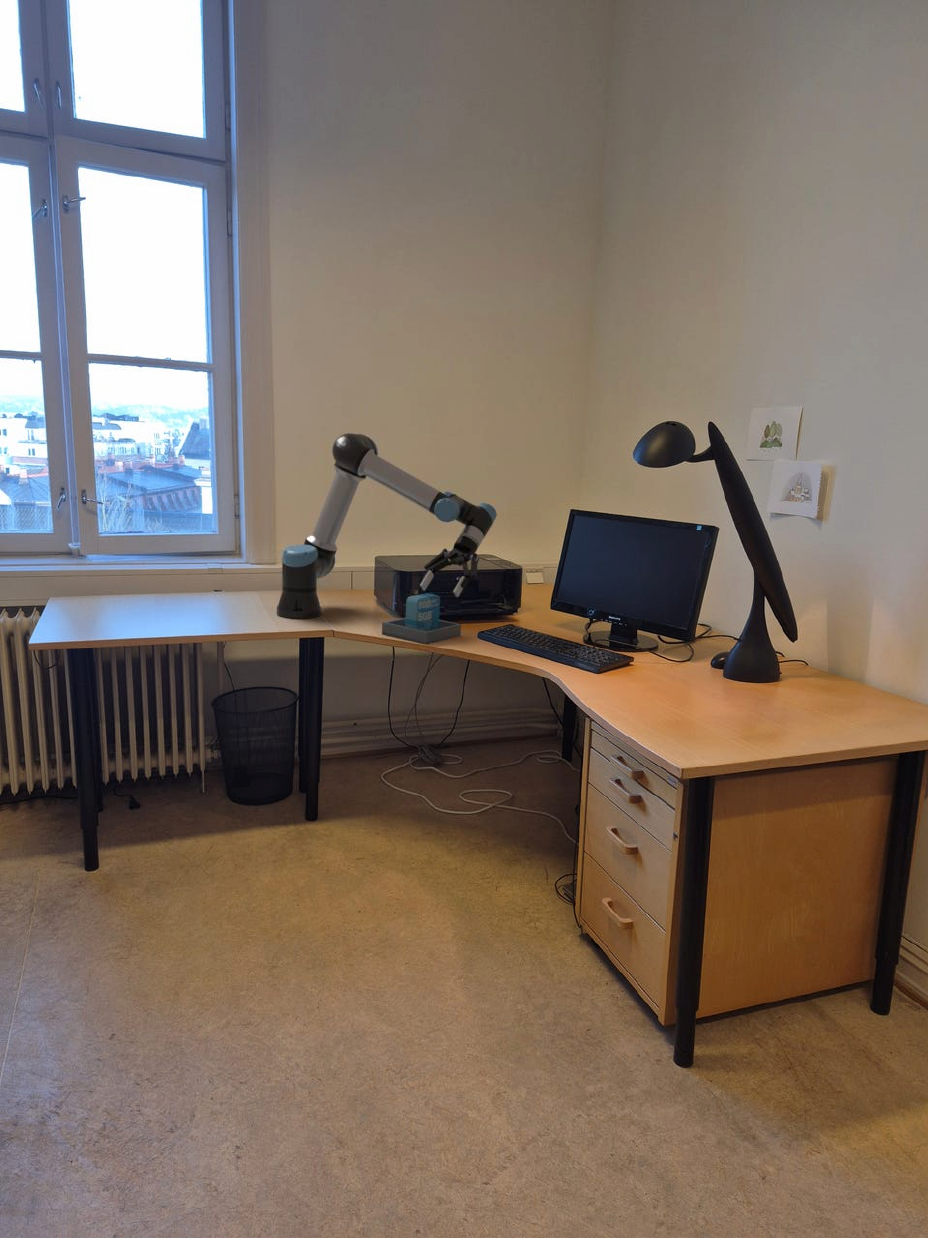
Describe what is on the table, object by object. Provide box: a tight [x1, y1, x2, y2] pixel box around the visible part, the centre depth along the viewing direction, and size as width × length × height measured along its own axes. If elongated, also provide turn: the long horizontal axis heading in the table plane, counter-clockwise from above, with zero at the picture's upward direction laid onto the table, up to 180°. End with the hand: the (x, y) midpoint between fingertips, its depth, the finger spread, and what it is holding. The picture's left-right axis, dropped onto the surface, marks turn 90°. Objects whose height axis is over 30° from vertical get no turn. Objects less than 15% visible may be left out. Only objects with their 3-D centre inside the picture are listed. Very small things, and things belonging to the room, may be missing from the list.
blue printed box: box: [405, 592, 441, 632], centre depth 243 cm, size 12×4×12 cm, turn 145°
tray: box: [381, 617, 462, 646], centre depth 244 cm, size 18×18×4 cm
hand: (438, 591), depth 246 cm, fingers open, 13 cm apart
